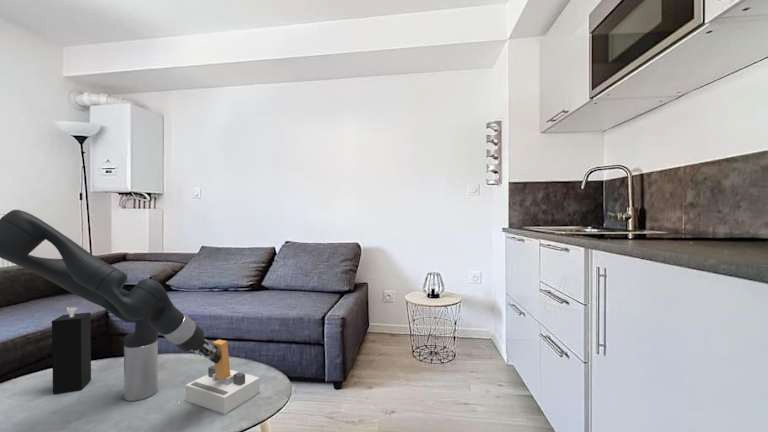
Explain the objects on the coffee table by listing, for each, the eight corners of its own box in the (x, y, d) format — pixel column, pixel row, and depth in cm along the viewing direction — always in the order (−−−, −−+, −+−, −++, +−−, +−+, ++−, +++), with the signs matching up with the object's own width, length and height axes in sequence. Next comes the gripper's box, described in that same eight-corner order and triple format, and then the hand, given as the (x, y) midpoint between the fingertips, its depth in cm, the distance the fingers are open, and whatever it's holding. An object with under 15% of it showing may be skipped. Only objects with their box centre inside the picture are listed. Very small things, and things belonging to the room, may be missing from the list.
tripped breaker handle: (216, 380, 114) (212, 342, 112) (222, 376, 116) (218, 339, 114) (224, 382, 112) (220, 344, 110) (230, 378, 114) (227, 341, 113)
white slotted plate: (185, 400, 111) (185, 375, 111) (222, 381, 124) (222, 359, 124) (224, 414, 104) (224, 387, 103) (259, 392, 116) (259, 368, 116)
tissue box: (81, 390, 118) (80, 308, 118) (52, 395, 115) (51, 311, 115) (91, 380, 125) (90, 303, 125) (63, 384, 122) (63, 305, 122)
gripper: (159, 340, 101) (196, 367, 111) (188, 348, 95) (224, 376, 106) (177, 317, 106) (211, 346, 116) (206, 324, 100) (239, 353, 111)
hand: (217, 360), depth 111 cm, fingers closed
